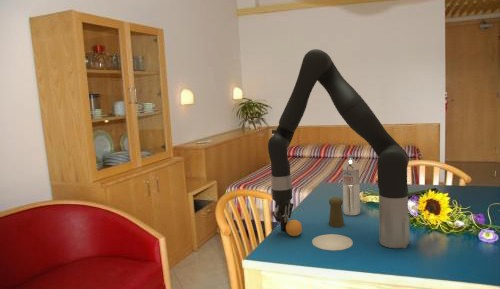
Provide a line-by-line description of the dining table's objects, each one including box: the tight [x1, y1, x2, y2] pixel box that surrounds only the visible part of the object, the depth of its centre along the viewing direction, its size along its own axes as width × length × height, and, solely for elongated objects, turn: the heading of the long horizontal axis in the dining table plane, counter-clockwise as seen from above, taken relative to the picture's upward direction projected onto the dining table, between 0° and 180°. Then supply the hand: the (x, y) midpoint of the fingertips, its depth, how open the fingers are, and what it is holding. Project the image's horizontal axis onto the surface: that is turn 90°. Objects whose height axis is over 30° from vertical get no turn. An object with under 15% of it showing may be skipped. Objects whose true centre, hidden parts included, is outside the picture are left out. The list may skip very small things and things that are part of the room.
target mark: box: [311, 233, 354, 252], centre depth 142 cm, size 14×14×1 cm
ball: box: [286, 219, 303, 237], centre depth 149 cm, size 6×6×6 cm
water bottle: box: [341, 154, 361, 217], centre depth 168 cm, size 7×7×25 cm
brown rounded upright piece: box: [328, 196, 345, 228], centre depth 158 cm, size 6×6×11 cm
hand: (284, 231), depth 152 cm, fingers closed
